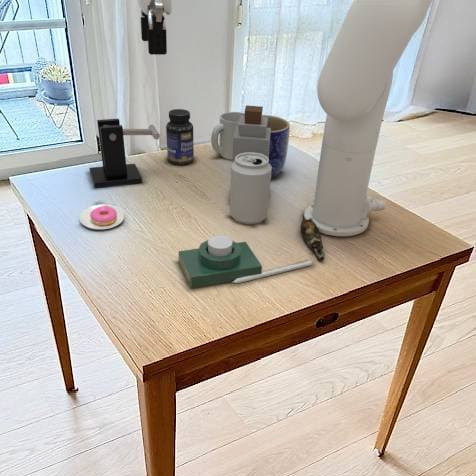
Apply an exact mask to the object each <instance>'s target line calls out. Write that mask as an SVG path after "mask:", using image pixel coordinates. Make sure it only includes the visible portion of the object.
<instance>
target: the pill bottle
mask: <svg viewBox="0 0 476 476" xmlns="http://www.w3.org/2000/svg"><path fill="white" fill-rule="evenodd" d="M168 118H169V121H168V122H167V123H166V125H165V133H166V155H167V156H166V157H167V161H168V162H169V163H171V164H173V165H178V166H185V165H189V164H191V163H192V162H193V161H194V159H195V158H194V157H195V156H194V155H195V154H194V148H195V147H194V125H193V123H192V122H191V121H190V119H191V112H190V111H189V110H187V109H184V108H183V109H182V108H175V109H171V110H169V111H168Z"/></svg>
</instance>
